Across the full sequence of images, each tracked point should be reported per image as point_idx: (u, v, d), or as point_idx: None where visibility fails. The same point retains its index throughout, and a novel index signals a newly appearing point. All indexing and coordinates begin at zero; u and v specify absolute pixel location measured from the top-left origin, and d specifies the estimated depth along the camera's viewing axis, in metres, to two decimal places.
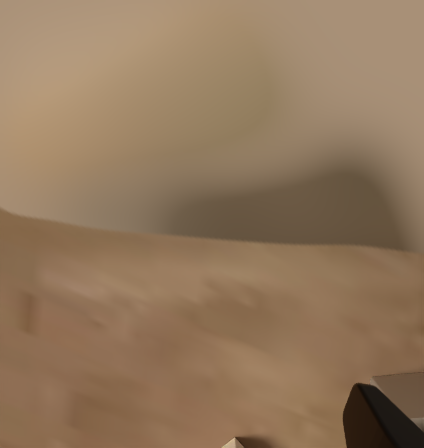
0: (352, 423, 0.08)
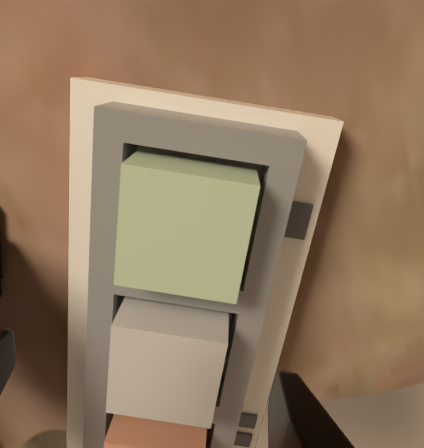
0: (272, 411, 0.08)
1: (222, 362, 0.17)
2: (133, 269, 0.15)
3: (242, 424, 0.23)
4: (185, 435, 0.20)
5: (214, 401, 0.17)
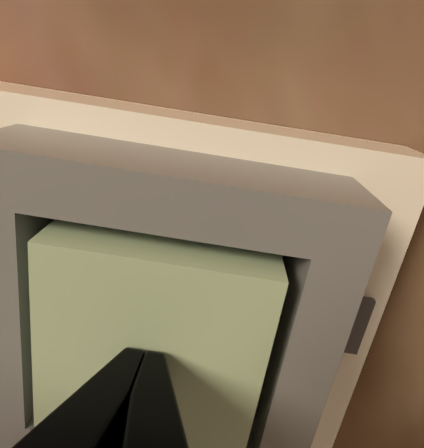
0: None
1: None
2: None
3: None
4: None
5: None
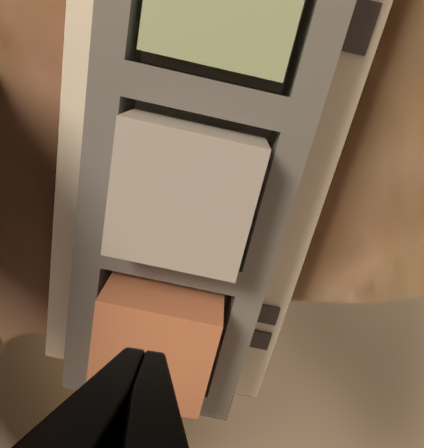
0: None
1: (260, 180, 0.13)
2: (162, 26, 0.12)
3: (261, 318, 0.19)
4: (198, 305, 0.16)
5: (244, 241, 0.13)
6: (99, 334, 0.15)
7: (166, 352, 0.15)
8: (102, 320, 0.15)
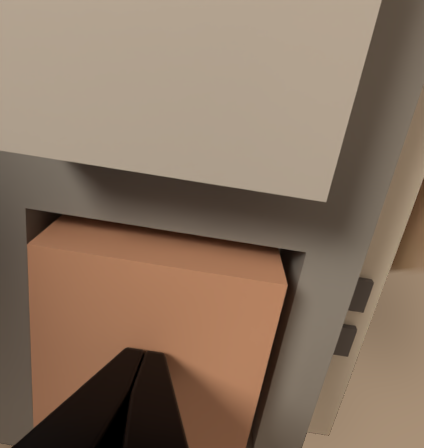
0: None
1: None
2: None
3: None
4: (231, 252, 0.08)
5: (354, 77, 0.05)
6: (44, 314, 0.08)
7: (177, 342, 0.08)
8: (46, 286, 0.08)
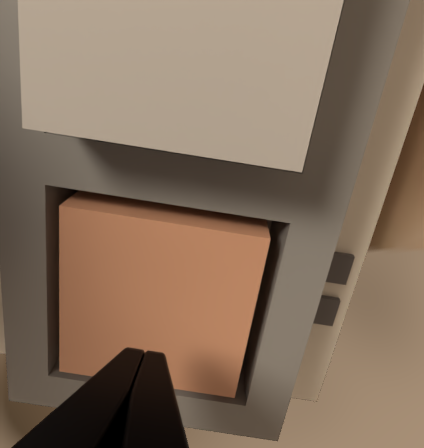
0: None
1: None
2: None
3: None
4: (225, 215, 0.10)
5: (322, 68, 0.06)
6: (72, 265, 0.10)
7: (180, 289, 0.10)
8: (74, 240, 0.09)
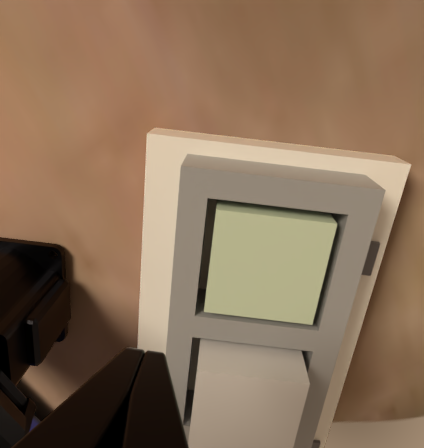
0: None
1: (303, 401, 0.17)
2: (222, 298, 0.17)
3: None
4: None
5: (294, 437, 0.18)
6: None
7: None
8: None
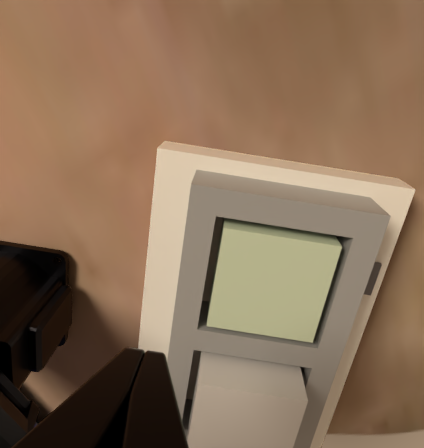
0: None
1: (300, 417, 0.18)
2: (225, 313, 0.17)
3: None
4: None
5: None
6: None
7: None
8: None
